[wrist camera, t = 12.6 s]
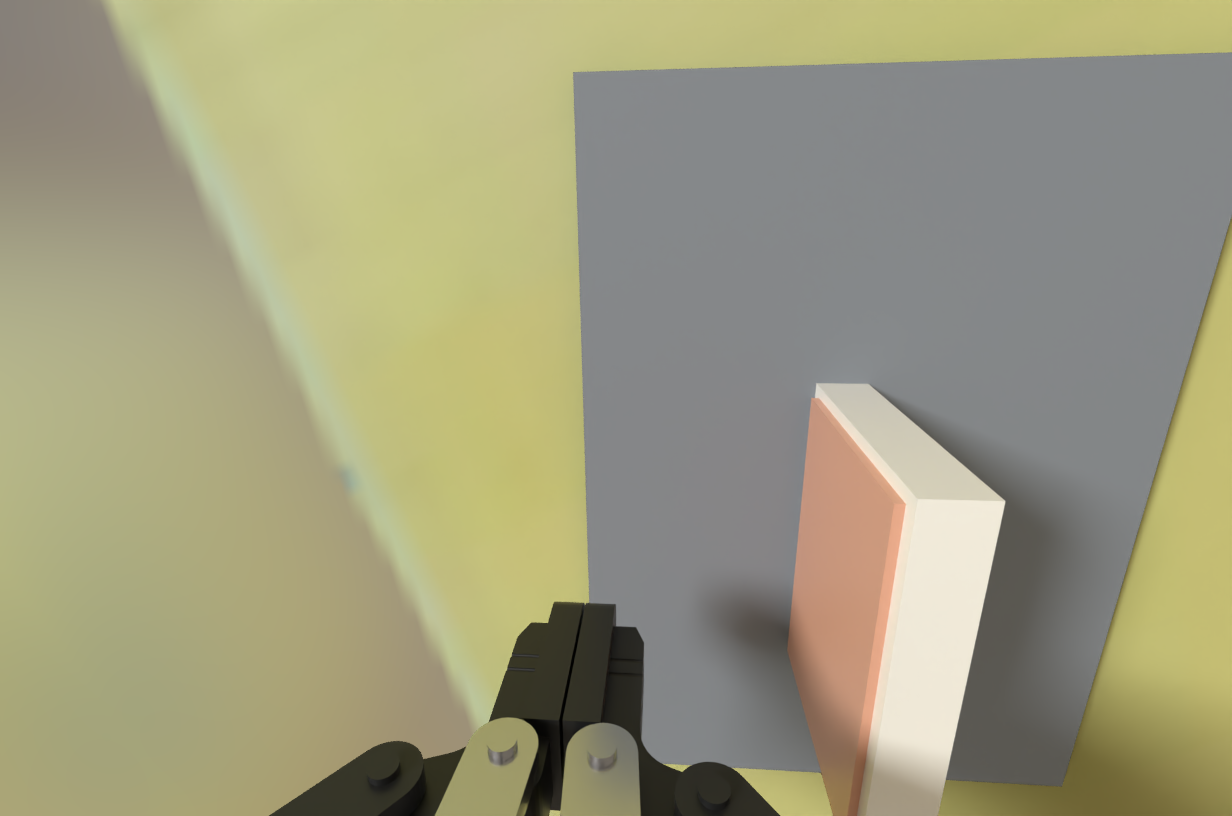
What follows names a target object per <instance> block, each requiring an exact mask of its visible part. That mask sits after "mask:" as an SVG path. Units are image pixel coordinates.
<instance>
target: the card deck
mask: <svg viewBox="0 0 1232 816" xmlns="http://www.w3.org/2000/svg"><path fill="white" fill-rule="evenodd" d="M1004 506H1005V500H1004V499H1002V498H1001V497H1000V496H999V495H998V494H997V493H995V492H994V491H993V490H992V489H991V488H990V487H988V486H987V485H986V484H985V483H984V482H983V481H981V480H980V479H979V478H978V477H977V476H976V475H974V474H973V473H972V472H971V471H970V470H968V469H967V468H966V467H965V466H964V465H963V464H961V463H960V462H959V461H958V460H957V459H956V458H954V457H953V456H952V455H951V454H950V453H949V452H947V451H946V450H945V449H944V448H943V447H942V446H940V445H939V444H938V443H937V442H936V441H935V440H933V439H932V438H931V437H930V436H929V435H928V434H926V433H925V432H924V431H923V430H922V429H921V428H919V427H918V426H917V425H916V424H915V423H914V422H912V421H911V420H910V419H909V418H908V417H906V416H905V415H904V414H903V413H902V412H901V411H899V410H898V409H897V408H896V407H895V406H894V405H892V404H891V403H890V402H889V401H888V400H887V399H885V398H884V397H883V396H882V395H881V394H880V393H878V392H877V391H876V390H875V389H874V388H873V387H871V386H870V385H869V384H833V383H816V393H815V398H811V407H810V418H809V428H808V439H807V449H806V460H805V470H804V480H803V491H802V501H801V512H800V522H799V532H798V543H797V553H796V564H795V574H794V585H793V595H792V605H791V616H790V626H789V637H788V647H787V652H788V655H789V659H790V662H791V666H792V670H793V673H794V677H795V680H796V684H797V688H798V691H799V695H800V698H801V702H802V705H803V709H804V713H805V716H806V720H807V723H808V727H809V730H810V734H811V738H812V741H813V745H814V748H815V752H816V756H817V759H818V763H819V766H820V770H821V773H822V777H823V781H824V784H825V788H826V791H827V795H828V799H829V802H830V806H831V809H832V813H833V816H938V813H939V808H940V803H941V799H942V794H943V789H944V785H945V780H946V775H947V771H948V766H949V762H950V757H951V752H952V748H953V743H954V738H955V734H956V729H957V724H958V720H959V715H960V710H961V706H962V701H963V697H964V692H965V687H966V683H967V678H968V673H969V669H970V664H971V659H972V655H973V650H974V645H975V641H976V636H977V632H978V627H979V622H980V618H981V613H982V608H983V604H984V599H985V594H986V590H987V585H988V580H989V576H990V571H991V566H992V562H993V557H994V553H995V548H996V543H997V539H998V534H999V529H1000V525H1001V520H1002V515H1003V511H1004Z"/></svg>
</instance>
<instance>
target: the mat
mask: <svg viewBox="0 0 1232 816" xmlns="http://www.w3.org/2000/svg"><path fill="white" fill-rule="evenodd" d="M573 80H574V113H575V146H576V178H577V211H578V244H579V277H580V310H581V342H582V375H583V408H584V441H585V474H586V506H587V539H588V572H589V603H599V604H616V626H622V627H636V628H637V630H638V632H639V634H640V636H641V638H642V640H643V641H644V694H643V718H642V742H643V745H644V747H645V748H646V750H647V751H648V752H649V754H650V755H651V756H652V757H653V758H655V759H656V760H657V761H658V762H660V763H662V764H679V765H693V764H697V763H700V762H717V763H721V764H724V765H726V766H728V767H731V768H749V769H766V770H784V771H801V772H818V773H821V770H820V766H819V763H818V759H817V756H816V752H815V748H814V745H813V741H812V738H811V734H810V730H809V727H808V723H807V720H806V716H805V713H804V709H803V705H802V702H801V698H800V695H799V691H798V688H797V684H796V680H795V677H794V673H793V670H792V666H791V662H790V659H789V655H788V652H787V647H788V637H789V626H790V616H791V605H792V595H793V585H794V574H795V564H796V553H797V543H798V532H799V522H800V512H801V501H802V491H803V480H804V470H805V460H806V449H807V439H808V428H809V418H810V407H811V398H815V393H816V383H833V384H869V385H870V386H871V387H873V388H874V389H875V390H876V391H877V392H878V393H880V394H881V395H882V396H883V397H884V398H885V399H887V400H888V401H889V402H890V403H891V404H892V405H894V406H895V407H896V408H897V409H898V410H899V411H901V412H902V413H903V414H904V415H905V416H906V417H908V418H909V419H910V420H911V421H912V422H914V423H915V424H916V425H917V426H918V427H919V428H921V429H922V430H923V431H924V432H925V433H926V434H928V435H929V436H930V437H931V438H932V439H933V440H935V441H936V442H937V443H938V444H939V445H940V446H942V447H943V448H944V449H945V450H946V451H947V452H949V453H950V454H951V455H952V456H953V457H954V458H956V459H957V460H958V461H959V462H960V463H961V464H963V465H964V466H965V467H966V468H967V469H968V470H970V471H971V472H972V473H973V474H974V475H976V476H977V477H978V478H979V479H980V480H981V481H983V482H984V483H985V484H986V485H987V486H988V487H990V488H991V489H992V490H993V491H994V492H995V493H997V494H998V495H999V496H1000V497H1001V498H1002V499H1004V500H1005V506H1004V511H1003V515H1002V520H1001V525H1000V529H999V534H998V539H997V543H996V548H995V553H994V557H993V562H992V566H991V571H990V576H989V580H988V585H987V590H986V594H985V599H984V604H983V608H982V613H981V618H980V622H979V627H978V632H977V636H976V641H975V645H974V650H973V655H972V659H971V664H970V669H969V673H968V678H967V683H966V687H965V692H964V697H963V701H962V706H961V710H960V715H959V720H958V724H957V729H956V734H955V738H954V743H953V748H952V752H951V757H950V762H949V766H948V771H947V775H946V780H958V781H975V782H992V783H1010V784H1027V785H1045V786H1062V785H1063V781H1064V778H1065V775H1066V771H1067V768H1068V764H1069V761H1070V758H1071V754H1072V751H1073V748H1074V744H1075V741H1076V738H1077V734H1078V731H1079V728H1080V724H1081V721H1082V717H1083V714H1084V711H1085V707H1086V704H1087V701H1088V697H1089V694H1090V691H1091V687H1092V684H1093V680H1094V677H1095V674H1096V670H1097V667H1098V664H1099V660H1100V657H1101V654H1102V650H1103V647H1104V643H1105V640H1106V637H1107V633H1108V630H1109V627H1110V623H1111V620H1112V617H1113V613H1114V610H1115V607H1116V603H1117V600H1118V596H1119V593H1120V590H1121V586H1122V583H1123V580H1124V576H1125V573H1126V570H1127V566H1128V563H1129V559H1130V556H1131V553H1132V549H1133V546H1134V543H1135V539H1136V536H1137V533H1138V529H1139V526H1140V522H1141V519H1142V516H1143V512H1144V509H1145V506H1146V502H1147V499H1148V496H1149V492H1150V489H1151V485H1152V482H1153V479H1154V475H1155V472H1156V469H1157V465H1158V462H1159V459H1160V455H1161V452H1162V449H1163V445H1164V442H1165V438H1166V435H1167V432H1168V428H1169V425H1170V422H1171V418H1172V415H1173V412H1174V408H1175V405H1176V401H1177V398H1178V395H1179V391H1180V388H1181V385H1182V381H1183V378H1184V375H1185V371H1186V368H1187V364H1188V361H1189V358H1190V354H1191V351H1192V348H1193V344H1194V341H1195V338H1196V334H1197V331H1198V328H1199V324H1200V321H1201V317H1202V314H1203V311H1204V307H1205V304H1206V301H1207V297H1208V294H1209V291H1210V287H1211V284H1212V280H1213V277H1214V274H1215V270H1216V267H1217V264H1218V260H1219V257H1220V254H1221V250H1222V247H1223V243H1224V240H1225V237H1226V233H1227V230H1228V227H1229V223H1230V220H1231V217H1232V53H1198V54H1165V55H1132V56H1099V57H1065V58H1032V59H999V60H966V61H932V62H899V63H866V64H833V65H799V66H766V67H733V68H699V69H666V70H633V71H600V72H573Z"/></svg>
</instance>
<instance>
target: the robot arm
mask: <svg viewBox="0 0 1232 816" xmlns="http://www.w3.org/2000/svg"><path fill="white" fill-rule="evenodd" d="M643 694H644V641H643V640H642V638H641V636H640V634H639V632H638V630H637V628H636V627H622V626H616V604H599V603H586V605H585V604H584V603H573V602H554V604H553V607H552V611H551V614H550V618H549V622H548V623H530V624H529V626H528V627H527V628H526V629H525V630H524V631H523V632H522V633H521V634H520V635H519V636H518V638H517V641H516V644H515V647H514V650H513V652H512V657H511V658H510V661H509V664H508V668H507V671H506V673H505V676H504V679H503V682H502V685H501V688H500V691H499V693H498V696H497V699H496V702H495V705H494V708H493V711H492V714H491V717H490V720H489V722H488V723H486V724H484V725H483V726H482V727H480V728H479V729H478V730H477V731H476V732H475V733H474V734H473V735H472V737H471V739H470V740H469V742H468V744H467V746H466V747H464V748H462V749H460V750H458V751H455V752H452V753H449V754H444V755H440V756H436V757H431V758H427V759H423V757H422V754H421V752H420V751H419V750H418V748H416V747H415V746H414V745H412V744H410V743H407V742H402V741H393V742H386V743H383V744H380V745H378V746H375V747H373V748H371V749H370V750H368V751H366V752H365V753H363V754H362V755H360V756H359V757H357V758H356V759H354V760H353V761H351V762H350V763H348V764H346V765H345V766H343V767H342V768H340V769H339V770H337V771H336V772H334V773H333V774H331V775H330V776H328V777H327V778H325V779H324V780H322V781H321V782H319V783H318V784H316V785H315V786H313V787H312V788H310V789H309V790H307V791H306V792H304V793H303V794H301V795H300V796H298V797H297V798H295V799H294V800H292V801H291V802H289V803H288V804H286V805H284V806H283V807H281V808H280V809H279V810H277V811H275V812H274V813H272V814H271V815H269V816H549V813H550V810H559V811H560V816H780V815H779V814H778V813H777V812H776V811H775V810H774V809H773V808H772V807H771V806H770V805H769V804H768V803H767V802H766V801H765V800H764V799H763V797H762V796H761V795H760V794H759V793H758V792H757V791H756V790H755V789H754V788H753V787H752V786H751V785H750V784H749V783H748V782H747V781H746V780H745V779H744V778H743V777H742V776H741V775H740V774H739V773H738V772H737V771H735V770H734V769H732V768H730V767H728V766H726V765H724V764H721V763H717V762H700V763H697V764H693V765H692V766H690V767H688V768H687V769H685V770H684V771H683V772H680V771H678V770H675V769H673V768H670V767H668V766H666V765H663V764H662V763H660V762H658V761H657V760H656V759H655V758H653V757H652V756H651V755H650V754H649V752H648V751H647V750H646V748H645V747H644V745H643V742H642V718H643Z"/></svg>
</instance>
